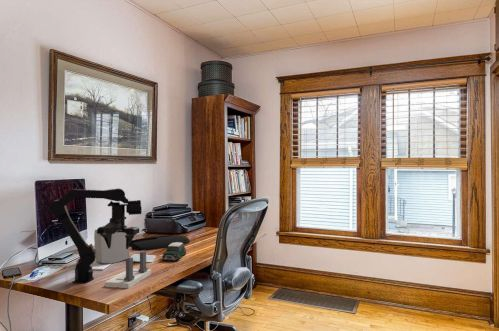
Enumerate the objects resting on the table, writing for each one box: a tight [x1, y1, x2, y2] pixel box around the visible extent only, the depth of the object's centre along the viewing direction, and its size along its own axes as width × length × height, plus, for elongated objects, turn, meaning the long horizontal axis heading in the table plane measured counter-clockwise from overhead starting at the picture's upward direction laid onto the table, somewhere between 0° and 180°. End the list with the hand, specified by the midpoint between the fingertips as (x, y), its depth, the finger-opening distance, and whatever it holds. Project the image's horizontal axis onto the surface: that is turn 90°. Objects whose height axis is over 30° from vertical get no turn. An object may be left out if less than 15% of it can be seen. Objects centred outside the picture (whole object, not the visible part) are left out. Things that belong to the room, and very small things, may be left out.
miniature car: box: [161, 242, 187, 262], centre depth 187 cm, size 9×18×8 cm, turn 174°
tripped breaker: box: [124, 256, 135, 281], centre depth 143 cm, size 3×4×9 cm
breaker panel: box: [104, 267, 152, 289], centre depth 149 cm, size 11×20×2 cm, turn 170°
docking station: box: [129, 234, 191, 252], centre depth 222 cm, size 25×40×5 cm, turn 124°
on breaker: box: [138, 250, 149, 272], centre depth 155 cm, size 3×4×9 cm
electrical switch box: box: [93, 225, 130, 264], centre depth 184 cm, size 15×15×20 cm
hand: (118, 248), depth 154 cm, fingers open, 9 cm apart
